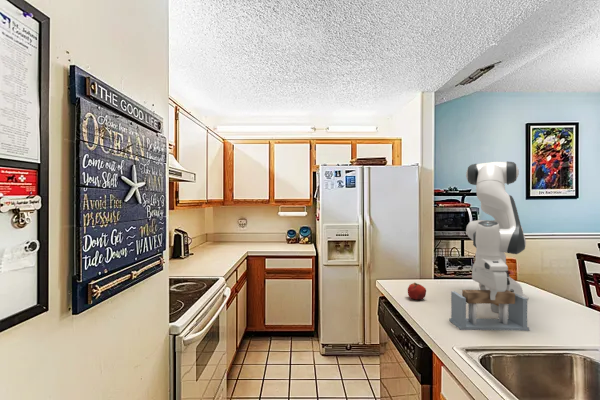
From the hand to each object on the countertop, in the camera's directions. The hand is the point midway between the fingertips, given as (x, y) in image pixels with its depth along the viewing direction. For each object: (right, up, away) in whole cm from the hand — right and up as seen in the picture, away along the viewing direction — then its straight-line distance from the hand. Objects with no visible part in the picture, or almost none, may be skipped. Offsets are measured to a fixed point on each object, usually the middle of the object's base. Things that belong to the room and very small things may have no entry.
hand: (487, 297), depth 138 cm
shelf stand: (0, -11, 0) cm, 11 cm away
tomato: (-16, -11, +36) cm, 41 cm away
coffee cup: (+14, -11, +17) cm, 25 cm away
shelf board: (0, -2, 0) cm, 2 cm away
